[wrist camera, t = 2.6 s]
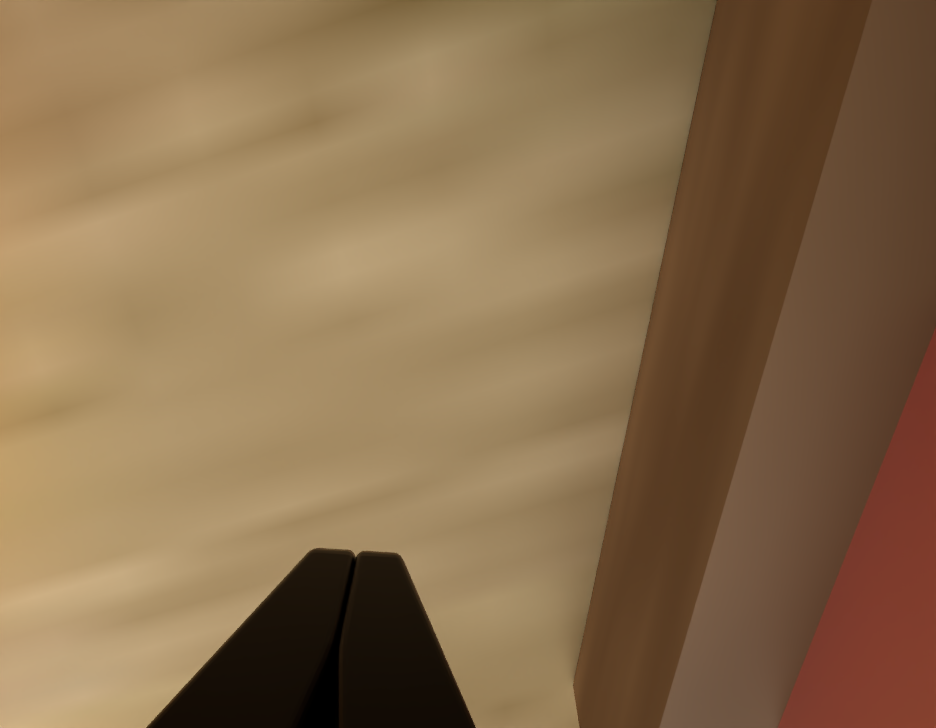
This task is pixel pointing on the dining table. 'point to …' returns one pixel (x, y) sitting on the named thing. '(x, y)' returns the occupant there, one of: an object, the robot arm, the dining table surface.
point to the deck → (768, 360)
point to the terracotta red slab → (883, 594)
